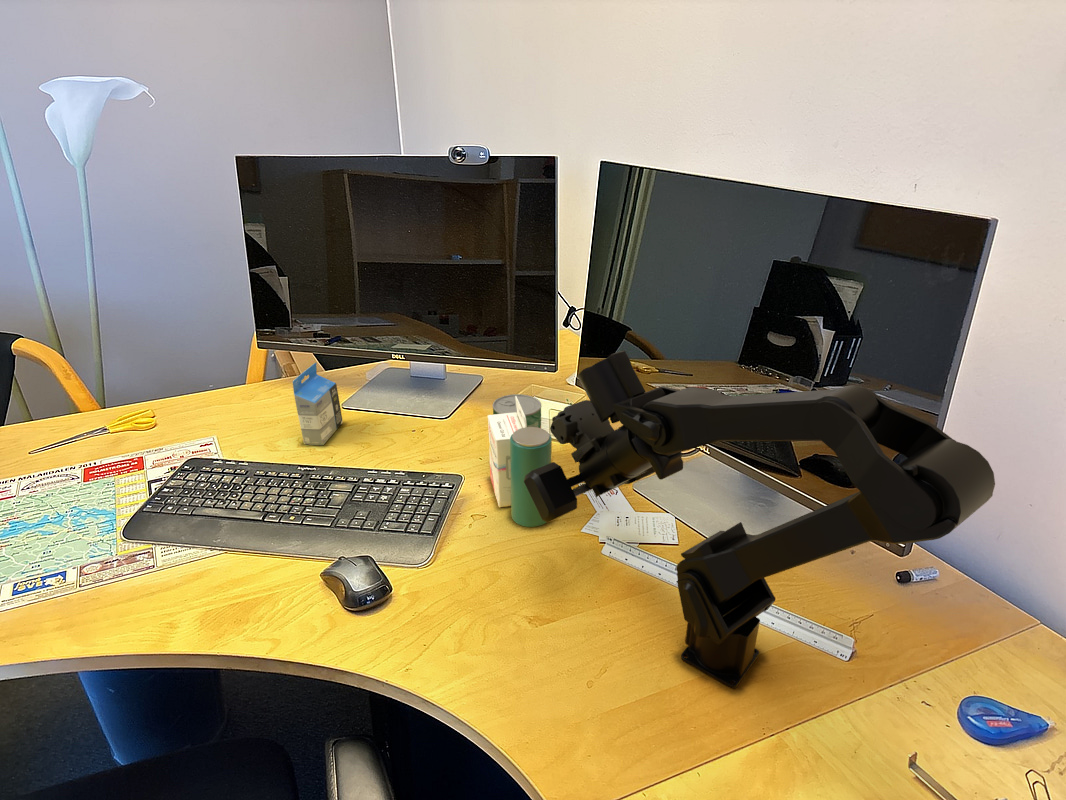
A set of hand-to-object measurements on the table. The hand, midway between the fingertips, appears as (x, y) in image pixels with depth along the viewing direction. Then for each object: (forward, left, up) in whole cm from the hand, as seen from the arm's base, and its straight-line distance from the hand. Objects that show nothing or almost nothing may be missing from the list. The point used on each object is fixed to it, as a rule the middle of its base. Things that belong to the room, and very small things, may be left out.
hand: (564, 492), depth 90 cm
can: (+7, -2, -8) cm, 11 cm away
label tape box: (+53, +3, -8) cm, 53 cm away
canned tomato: (+19, -12, -8) cm, 23 cm away
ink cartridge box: (+14, -4, -8) cm, 17 cm away
